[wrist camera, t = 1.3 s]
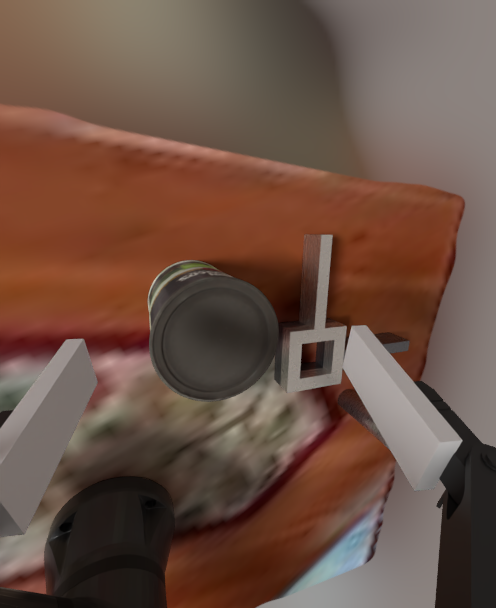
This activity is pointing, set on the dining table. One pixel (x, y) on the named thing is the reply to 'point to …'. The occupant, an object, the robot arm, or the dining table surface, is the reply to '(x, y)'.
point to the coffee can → (209, 331)
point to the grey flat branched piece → (317, 328)
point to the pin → (359, 412)
